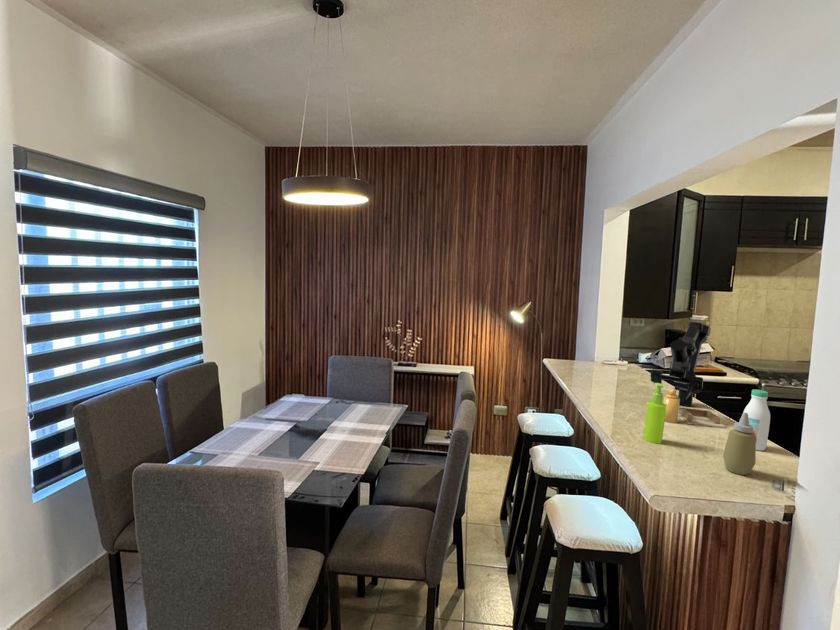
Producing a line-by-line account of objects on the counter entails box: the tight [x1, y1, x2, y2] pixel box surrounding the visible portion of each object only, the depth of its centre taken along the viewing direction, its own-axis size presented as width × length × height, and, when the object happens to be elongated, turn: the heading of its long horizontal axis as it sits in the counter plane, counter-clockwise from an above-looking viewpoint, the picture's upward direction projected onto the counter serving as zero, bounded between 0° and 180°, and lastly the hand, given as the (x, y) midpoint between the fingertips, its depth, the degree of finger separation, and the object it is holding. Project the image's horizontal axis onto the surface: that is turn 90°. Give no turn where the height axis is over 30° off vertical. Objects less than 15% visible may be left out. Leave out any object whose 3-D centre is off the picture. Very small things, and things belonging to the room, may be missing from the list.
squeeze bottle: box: [722, 412, 757, 476], centre depth 137 cm, size 8×8×18 cm
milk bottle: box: [743, 388, 771, 452], centre depth 159 cm, size 8×8×20 cm
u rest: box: [678, 407, 727, 429], centre depth 186 cm, size 14×14×3 cm
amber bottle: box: [663, 387, 680, 424], centre depth 183 cm, size 6×6×13 cm
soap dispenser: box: [642, 382, 666, 444], centre depth 160 cm, size 6×7×20 cm
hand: (672, 396), depth 184 cm, fingers open, 9 cm apart
